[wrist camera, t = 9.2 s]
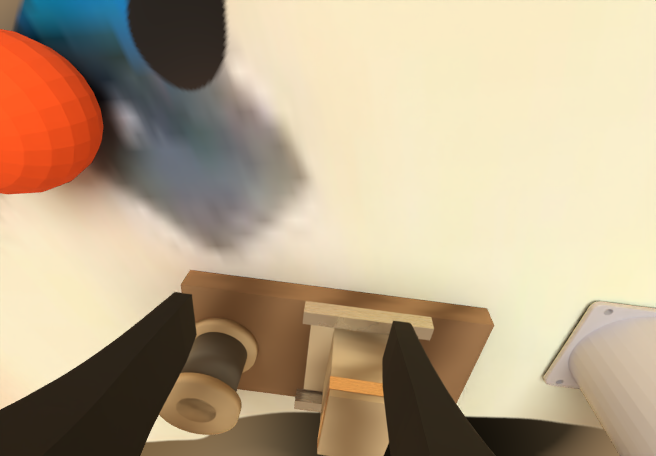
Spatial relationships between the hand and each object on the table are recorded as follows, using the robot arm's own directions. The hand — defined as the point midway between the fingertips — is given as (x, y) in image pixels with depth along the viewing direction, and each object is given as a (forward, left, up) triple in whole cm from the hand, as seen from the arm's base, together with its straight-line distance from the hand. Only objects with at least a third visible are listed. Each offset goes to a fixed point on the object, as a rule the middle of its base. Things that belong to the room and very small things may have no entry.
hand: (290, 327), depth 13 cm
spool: (+6, +11, -8) cm, 15 cm away
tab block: (-4, +11, -8) cm, 14 cm away
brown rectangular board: (-2, +11, -9) cm, 15 cm away
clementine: (+14, -4, -10) cm, 17 cm away
